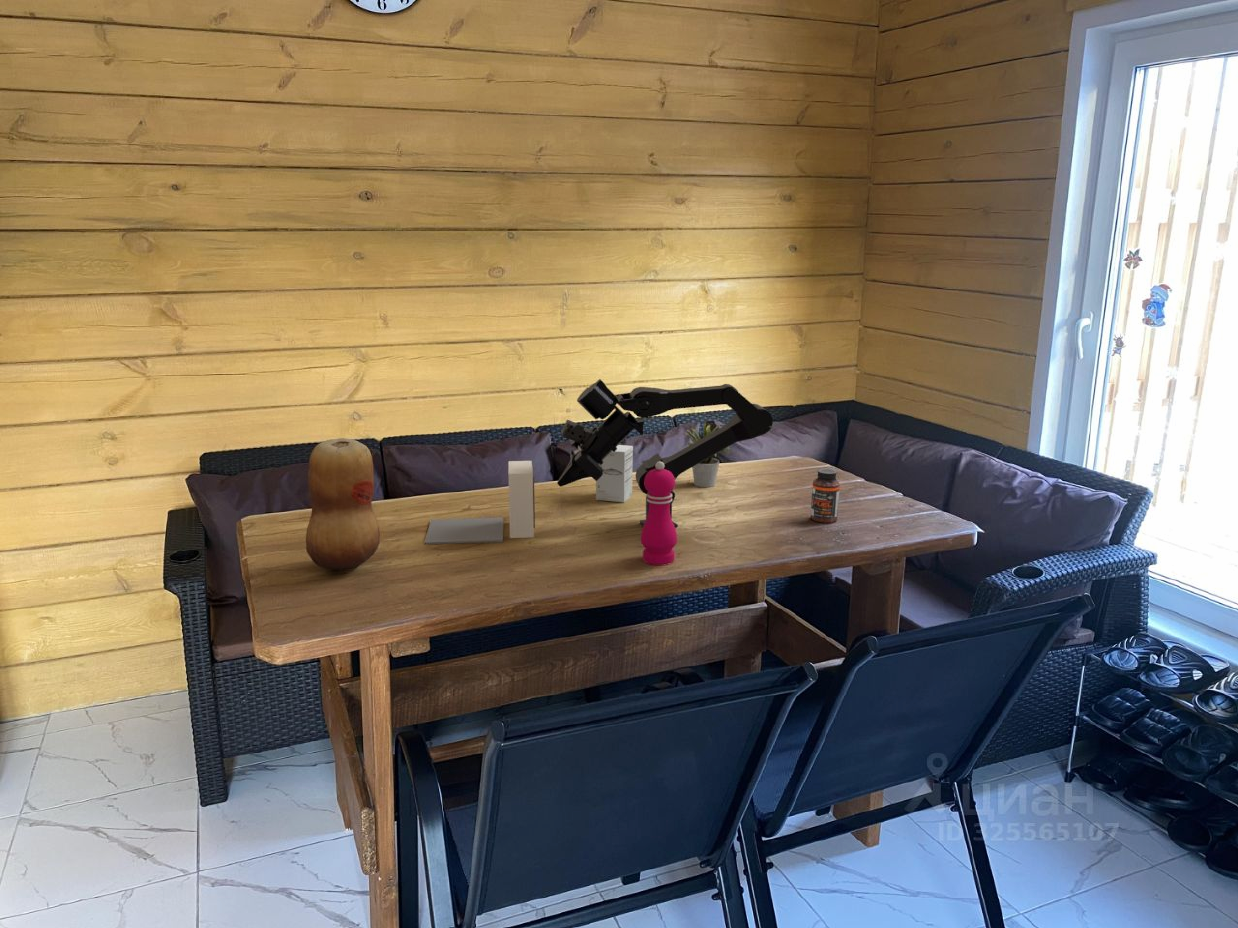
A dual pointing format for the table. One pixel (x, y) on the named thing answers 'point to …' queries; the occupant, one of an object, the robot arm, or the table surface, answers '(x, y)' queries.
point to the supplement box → (616, 475)
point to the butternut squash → (341, 505)
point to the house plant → (705, 463)
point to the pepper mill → (659, 518)
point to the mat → (465, 530)
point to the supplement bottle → (825, 497)
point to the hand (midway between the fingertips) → (558, 484)
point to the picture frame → (521, 499)
